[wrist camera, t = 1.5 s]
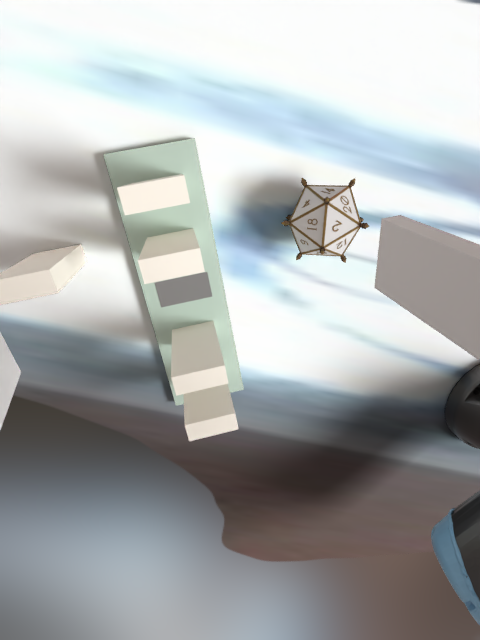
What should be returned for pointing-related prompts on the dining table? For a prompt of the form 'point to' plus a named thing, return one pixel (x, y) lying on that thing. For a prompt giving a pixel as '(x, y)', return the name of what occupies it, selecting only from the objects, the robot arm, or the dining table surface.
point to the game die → (325, 220)
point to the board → (182, 292)
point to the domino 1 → (41, 274)
